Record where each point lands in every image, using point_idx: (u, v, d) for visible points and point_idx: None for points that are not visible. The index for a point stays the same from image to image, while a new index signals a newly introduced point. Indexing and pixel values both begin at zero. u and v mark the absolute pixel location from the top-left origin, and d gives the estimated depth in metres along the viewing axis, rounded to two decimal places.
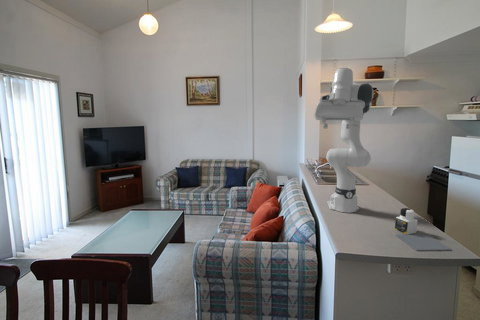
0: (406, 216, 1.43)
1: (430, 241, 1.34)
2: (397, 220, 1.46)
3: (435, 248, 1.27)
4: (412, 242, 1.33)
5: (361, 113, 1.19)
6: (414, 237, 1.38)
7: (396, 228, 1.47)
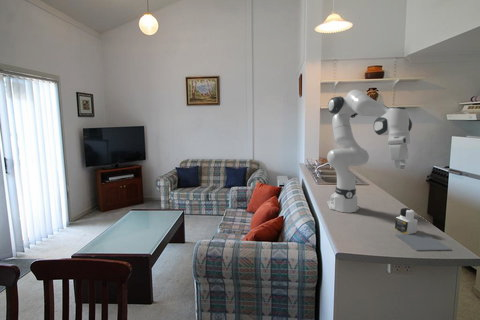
0: (406, 216, 1.43)
1: (430, 241, 1.34)
2: (397, 220, 1.46)
3: (435, 248, 1.27)
4: (412, 242, 1.33)
5: None
6: (414, 237, 1.38)
7: (396, 228, 1.47)
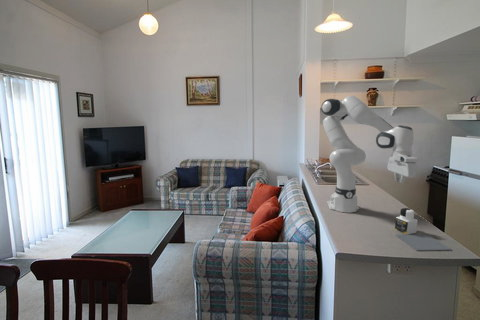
0: (406, 216, 1.43)
1: (430, 241, 1.34)
2: (397, 220, 1.46)
3: (435, 248, 1.27)
4: (412, 242, 1.33)
5: None
6: (414, 237, 1.38)
7: (396, 228, 1.47)
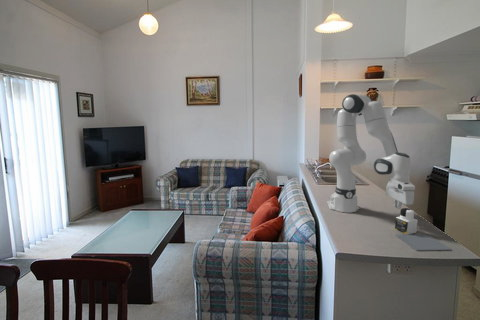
0: (406, 216, 1.43)
1: (430, 241, 1.34)
2: (397, 220, 1.46)
3: (435, 248, 1.27)
4: (412, 242, 1.33)
5: None
6: (414, 237, 1.38)
7: (396, 228, 1.47)
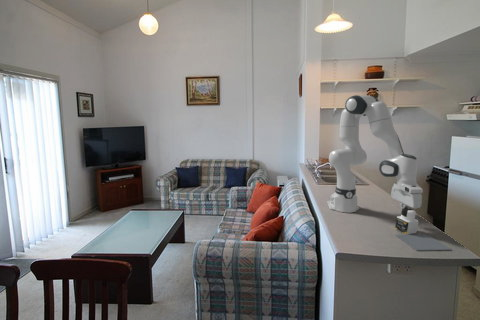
0: (407, 216, 1.42)
1: (430, 241, 1.34)
2: (398, 220, 1.46)
3: (435, 248, 1.27)
4: (412, 242, 1.33)
5: None
6: (414, 237, 1.38)
7: (396, 227, 1.47)
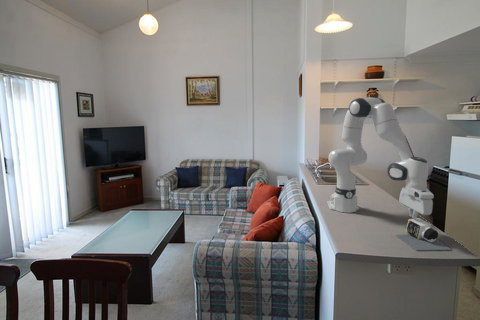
0: (424, 237, 1.34)
1: None
2: (417, 227, 1.35)
3: (435, 248, 1.27)
4: (412, 242, 1.33)
5: None
6: (414, 237, 1.38)
7: (409, 222, 1.39)
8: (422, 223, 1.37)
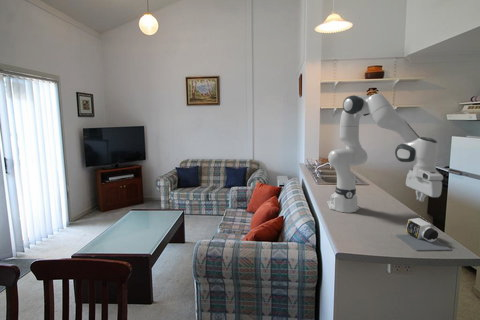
0: (424, 237, 1.34)
1: None
2: (417, 227, 1.35)
3: (435, 248, 1.27)
4: (412, 242, 1.33)
5: None
6: (414, 237, 1.38)
7: (409, 222, 1.39)
8: (422, 223, 1.37)
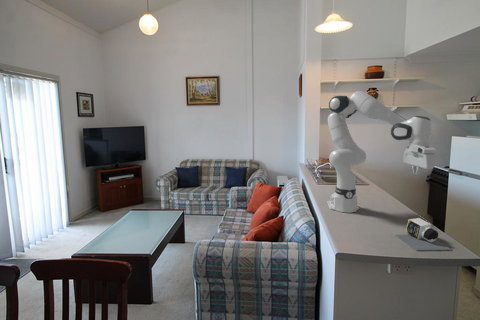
0: (424, 237, 1.34)
1: None
2: (417, 227, 1.35)
3: (435, 248, 1.27)
4: (412, 242, 1.33)
5: None
6: (414, 237, 1.38)
7: (409, 222, 1.39)
8: (422, 223, 1.37)
